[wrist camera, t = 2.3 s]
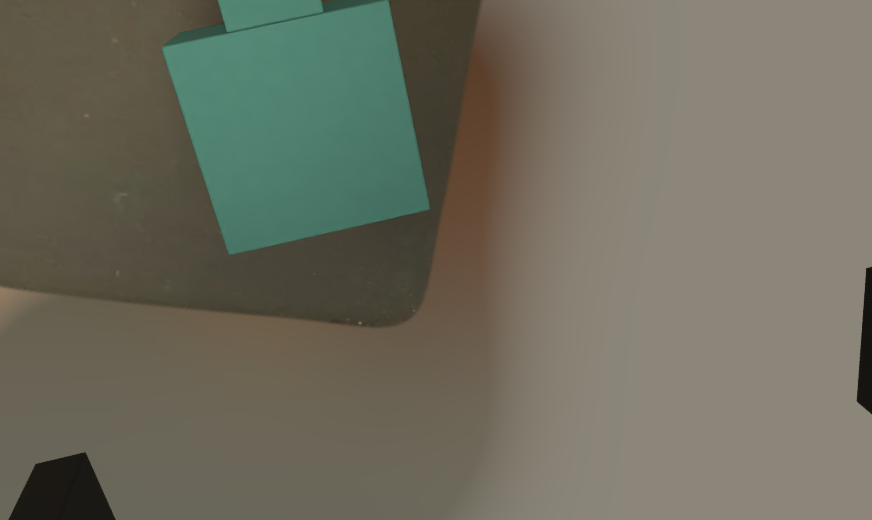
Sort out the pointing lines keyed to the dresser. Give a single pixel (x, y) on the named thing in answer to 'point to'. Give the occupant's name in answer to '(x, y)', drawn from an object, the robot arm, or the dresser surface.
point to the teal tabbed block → (298, 118)
